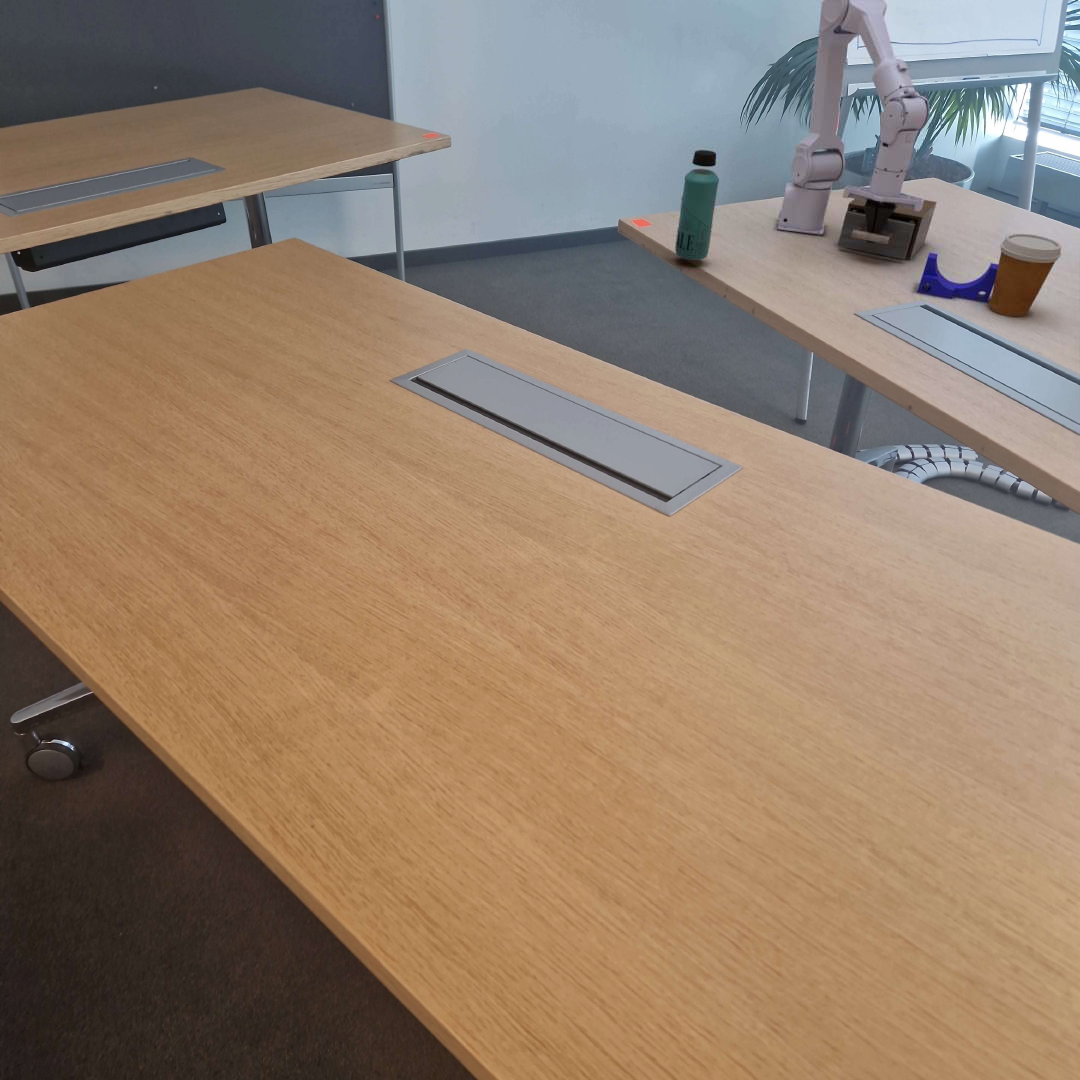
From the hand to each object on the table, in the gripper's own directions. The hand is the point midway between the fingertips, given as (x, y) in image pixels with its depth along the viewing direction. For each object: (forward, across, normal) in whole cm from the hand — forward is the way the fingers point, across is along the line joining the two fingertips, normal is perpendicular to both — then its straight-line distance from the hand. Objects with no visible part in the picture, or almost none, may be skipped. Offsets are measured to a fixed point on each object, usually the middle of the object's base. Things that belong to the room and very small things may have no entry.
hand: (871, 241), depth 172 cm
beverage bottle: (+4, -28, -24) cm, 37 cm away
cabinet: (+4, 0, +12) cm, 13 cm away
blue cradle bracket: (+4, +18, -9) cm, 21 cm away
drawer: (+3, 0, +6) cm, 6 cm away
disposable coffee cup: (+4, +28, -11) cm, 30 cm away
